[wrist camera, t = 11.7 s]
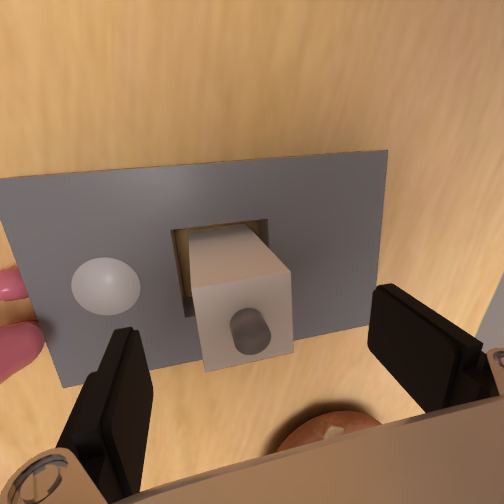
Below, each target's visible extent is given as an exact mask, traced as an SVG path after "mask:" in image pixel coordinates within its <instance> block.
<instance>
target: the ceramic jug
mask: <svg viewBox="0 0 504 504" xmlns="http://www.w3.org/2000/svg"><path fill="white" fill-rule="evenodd" d="M379 425H382V424H381V423H380V422H379V421H377V420H376V419H374V418H373V417H371V416H369V415H366V414H364V413H360V412H355V411H335V412H330V413H326V414H323V415H320V416H317V417H315V418H313V419H311V420H309V421H307V422H305V423H304V424H302V425H301V426H299V427H298V428H297V429H295V430H294V431H293V432H292V433H291V434H290V435H289V436H288V437H287V438H286V439H285V440H284V441H283V443H282V444H281V445H280V446H279V448H278V449H277V451H276V453H277V452H280V451H284V450H288V449H291V448H295V447H299V446H303V445H306V444H310V443H314V442H318V441H322V440H325V439H329V438H333V437H337V436H340V435H344V434H348V433H352V432H356V431H360V430H363V429H367V428H371V427H375V426H379Z"/></svg>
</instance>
